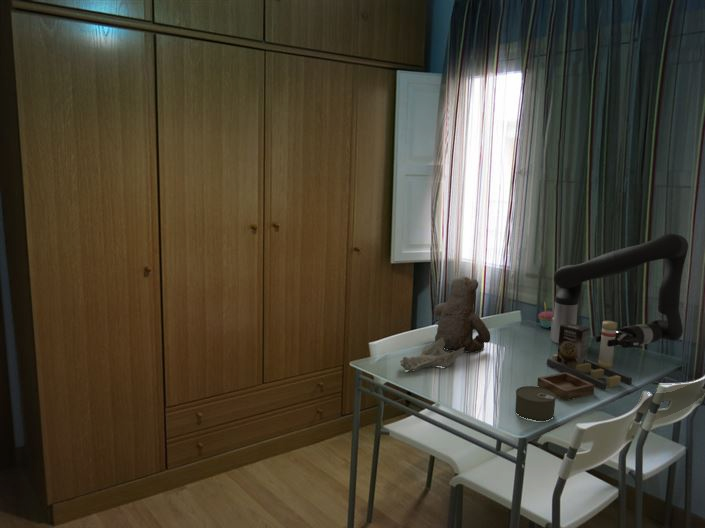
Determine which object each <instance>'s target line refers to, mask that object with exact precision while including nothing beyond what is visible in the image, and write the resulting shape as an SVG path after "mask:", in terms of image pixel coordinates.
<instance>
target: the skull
mask: <svg viewBox="0 0 705 528" xmlns="http://www.w3.org/2000/svg"><path fill="white" fill-rule="evenodd" d="M444 346H445V342H444V340H443V338H440V339H438V340H437V341H436V342H435V341H434V342H432V343H431V345H430V346H429V347H426V346H424V347H422V350H421V352H420V354H419V355H417V356H411V357H407V356H404V357H402V360H400V361H399V362H400V366H401V367H403V369H404V370H409V371H413V370H416V369H418V370H420V369H419V368H421V369H425V368H428V367H430V366H442V367H447V368H448V367H449V366H451V365H452V363H453V362H454V361H456V359H458V358H459V357H460V356H461V355H462V354H464V353H465V352H464V351H463V350H464V348H461V349H459V350H457V351H451V352H446V350H445V349H443V347H444ZM433 349H435V351H433V353H431V351H432V350H433ZM416 371H417V370H416ZM413 372H414V371H413Z"/></svg>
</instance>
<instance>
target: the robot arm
mask: <svg viewBox="0 0 705 528" xmlns="http://www.w3.org/2000/svg"><path fill="white" fill-rule="evenodd" d="M688 250H689V242H688V240H687V239H686V238H685V237H684V236H682V235H680V234H676V233H665V234H663V235H661V236H658V237H656V238H654V239H652V240H651V239H650V240H649V241H646V242H643V243H641V244H636V245H632V246H628V247H627V246H626V247H624V248H619V249H616V250H612V251H610V252H609V251H608V252H606V253H604V254H601V255H598V256H596V257H594V258H592V259H589V260H587V261H585V262H582V263H579V264H567V265H564V266H561V267H559V268H558V269H557V270H556V271H555V273H554V275H553V281H554V283H555V285H556V286H557V287H559V288H558V291H557V294H556V295H555V298H554V308H553V309H554V310H553V313H554V318H552V323H551V328H550V337H549V338H550V340H551V341H552V342H553V343H555V344H558V343H559V332H560V325H562V324H566V323H571V324H575V325H577V319H578V307H579V306H578V305H579V299H580V297H581V293H582V292H581V291H582V285H583V283H584V282H588V281H591V280H596V279H603V278H607V277H612V276H616V275H619V274H624V273H627V272H629V271H632V270H635V269H636V268H639V267H640V266H642V265H643V264H647V263H650V262H654V261H658V260H664V272H663V277H662V280H661V283H660V286H659V290H658V301H657V310H658V313H660V314H661V315H664V316H666V319H667V320H664V319H655V320H653V321H650V322H649V323H643V324H640V323H639V324H633V325H627V326H623V327H622V328H621V329H619V330H616V337H615V339H612V340H608V343H607V346H609V347H611V346H614V347H615V346H616V347H621V348H624V349H625V348H629V349H630V348H639V346H644V345H647V344H651V343H656V342H658V341H660V340H667V341H673V342H674V341H678V340H680V339H681V338H682V336H683V332H684V329H683V322H682V319H681V314H680V300H681V287H682V285H681V284H682V278H683V270H684V265H685V262H686V258H687V254H688V252H689V251H688ZM601 333H602V330H601V331H599V335H596V336H595V342H597V343H601Z"/></svg>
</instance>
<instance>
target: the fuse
mask: <svg viewBox="0 0 705 528" xmlns="http://www.w3.org/2000/svg"><path fill="white" fill-rule="evenodd" d="M601 331H602V333H601V342H599V345H600V346H599V353H598V359H597V364H598V366H600V367H602V368H610V369H612V368H613V365H614V364H613V363H614V355H615V354H614V352H615V346H611V347H609V346H607V343H608V340H612V339H615V337H616V331H618V322H616V321H612V320H603V321H602V324H601Z"/></svg>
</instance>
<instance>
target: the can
mask: <svg viewBox="0 0 705 528" xmlns="http://www.w3.org/2000/svg"><path fill="white" fill-rule="evenodd" d="M515 394H516V395H515V411H516V413H517V414H519V416H521V417H524V418H526V419H527V418H528V419H532V420H536V421H546V420H549V419H551V418H552V417H553V415H554V416H555V408H556V400H557V396H556V395H555V393H553V392H552V391H550V390H548V389H545V388H541V387H537V386H533V385H531V386H530V385H527V386H521V387H518V388H516V390H515ZM515 411H514V412H515ZM516 413H515V414H516ZM519 416H518V417H519Z"/></svg>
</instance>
